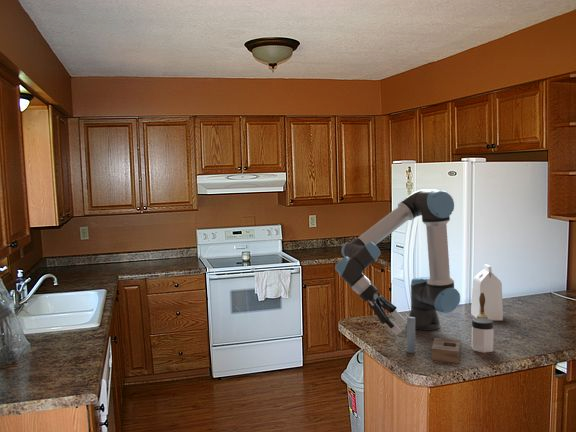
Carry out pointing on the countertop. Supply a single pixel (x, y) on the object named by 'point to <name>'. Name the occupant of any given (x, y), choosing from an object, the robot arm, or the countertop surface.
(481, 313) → the hand bell
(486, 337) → the jar
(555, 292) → the countertop surface
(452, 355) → the hole block
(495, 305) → the milk
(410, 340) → the peg
